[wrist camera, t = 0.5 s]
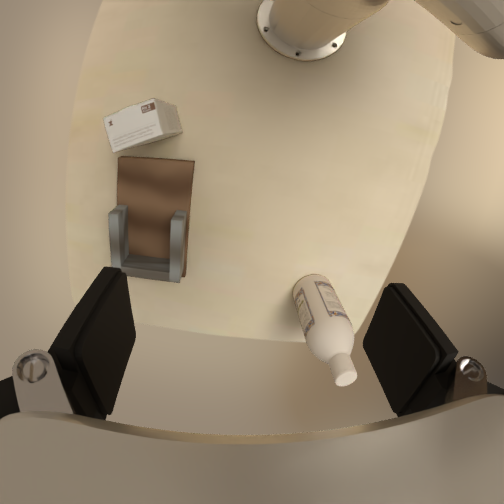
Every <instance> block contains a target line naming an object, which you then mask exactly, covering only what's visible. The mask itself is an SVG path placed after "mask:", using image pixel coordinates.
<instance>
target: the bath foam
mask: <svg viewBox="0 0 504 504" xmlns="http://www.w3.org/2000/svg"><path fill="white" fill-rule="evenodd" d="M293 298H294V302H295V305H296V309H297V312H298V315H299V319H300V322H301V326H302V329H303V332H304V336H305V339H306V343H307V345H308V347H309V349H310V350H311V352H312V353H313V354H314V355H315V356H316V357H317V358H318V359H320V360H321V361H323V362H325V363H327V364H329V366H330V369H331V372H332V375H333V378H334V381H335V384H336V385H338V386H346V385H349V384H351V383H352V382H354V381H355V380H356V378H357V373H356V370H355V368H354V365H353V363H352V361H351V358H350V354H351V351H352V348H353V344H354V332H353V328H352V324H351V322H350V320H349V318H348V316H347V314H346V312H345V310H344V308H343V306H342V304H341V302H340V300H339V298H338V296H337V294H336V293H335V291H334V289H333V287H332V285H331V283H330V282H329V280H328V279H327V278H326V277H324V276H322V275H317V274H313V275H308V276H306V277H304V278H302V279H301V280H300V281H298V283H297V284H296V285H295V287H294V290H293Z"/></svg>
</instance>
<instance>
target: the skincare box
mask: <svg viewBox="0 0 504 504" xmlns="http://www.w3.org/2000/svg"><path fill="white" fill-rule="evenodd" d="M103 120H104V124H105V128H106V131H107V135H108V139H109V142H110V146H111V148H112V152H113V153H115V152H118V151H122V150H125V149H129V148H133V147H136V146H140V145H144V144H148V143H152V142H155V141H158V140H162V139H165V138H168V137H171V136H174V135H177V134H180V133H182V129H181V125H180V121H179V117H178V112H177V108H176V106H175V105H172V104H169V103H166V102H164V101H161V100H158V99H155V98H152V99H149V100H147V101H144V102H141V103H138V104H136V105H132V106H129V107H126V108H124V109H122V110H120V111H118V112H115V113H113V114H111V115H109V116H106V117H104V118H103Z"/></svg>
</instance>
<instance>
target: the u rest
mask: <svg viewBox="0 0 504 504" xmlns="http://www.w3.org/2000/svg"><path fill="white" fill-rule="evenodd" d="M194 164H195V161H189V160H177V159H164V158H149V157H129V156H121V157H119V158H118V180H117V207H116V208H114V209H113V210H112V211H111V212H110V213H109V237H110V251H111V263H112V267H116V268H120V269H121V270H122V272H124V273H126V276H130V277H137V278H145V279H152V280H160V281H168V282H176V283H180V280H181V277H185V275H186V264H187V246H188V231H189V217H190V205H191V194H192V183H193V173H194Z"/></svg>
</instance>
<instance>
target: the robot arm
mask: <svg viewBox="0 0 504 504" xmlns="http://www.w3.org/2000/svg"><path fill="white" fill-rule="evenodd" d="M388 1H389V0H273V1H270V0H263V1H262V3H261V4H260V7H259V9H258V13H257V25H258V29H259V32H260V34H261V35H262V37H263V39H264V40H265V41H266V42H267V44H268V45H269V46H271V47H272V48H273V49H274V50H275V51H277V52H279V53H280V54H282V55H284V56H287V57H289V58H292V59H296V60H303V61H314V60H319V59H323V58H325V57H328V56H330V55H331V54H333V53H335V52H336V51H337V50H338V49H339V48H340V47H341V45H342V44H343V42H344V40H345V37H346V32H347V31H348V30H349V29H351V28H352V27H354V26H355V25H357V24H358V23H360V22H362V21H363V20H365V19H366V18H368V17H370V16H371V15H373V14H374V13H376V12H378V11H379V10H381V9H382V8H383V7H384V6H385V5H386V4H387V3H388ZM414 1H416V2H417V3H418V4H420V5H421V6H422V7H424V8H425V9H426V10H428V11H429V12H430V13H431V14H433V15H434V16H435V17H436V18H437V19H439V20H440V21H441V22H442V23H443V24H444V25H445V26H447V27H448V28H449V29H450V30H451V31H452V32H453V33H454V34H456V35H457V36H458V37H459V38H460V39H461V40H462V41H463V42H465V43H466V44H467V45H468V46H469V47H471V48H472V49H474V50H475V51H477V52H478V53H480V54H482V55H484V56H486V57H491V58H494V59H504V0H414ZM264 30H267V32H264ZM331 45H333V46H334V48H333V47H332V46H331ZM296 53H298V54H299V56H296ZM135 338H136V331H135V326H134V320H133V315H132V309H131V303H130V297H129V290H128V283H127V276H126V273H124V272H122V270H121V269H120V268H116V267H104V268H103V269H102V270H101V272H100V273H99V274H98V276H97V277H96V279H95V280H94V281H93V283H92V284H91V286H90V287H89V289H88V290H87V291H86V293H85V294H84V296H83V297H82V299H81V300H80V302H79V303H78V304H77V305H76V307H75V309H74V310H73V311H72V313H71V315H70V316H69V318H68V319H67V321H66V323H65V324H64V326H63V327H62V329H61V330H60V332H59V334H58V336H57V337H56V338H55V340H54V342H53V344H52V345H51V347H50V349H49V350H48V352H46V351H43V350H38V349H34V350H29V351H27V352H25V353H23V354H22V355H20V356H19V357H18V358H17V360H16V361H15V362H14V365H13V368H12V375H13V376H11V377H9V378H6V379H4V380H1V381H0V504H504V389H502V388H500V387H498V386H496V385H493V384H491V383H489V382H487V374H486V370H485V369H484V367H483V365H482V364H481V363H480V362H479V361H477V360H476V359H474V358H472V357H468V356H463V357H460V358H459V359H458V360H457V362H456V361H455V360H454V358H455V357H456V355H457V353H458V350H457V349H456V348H455V346H454V345H453V344H452V342H451V341H450V340H449V338H448V337H447V336H446V334H445V333H444V332H443V330H442V329H441V328H440V327H439V325H438V324H437V323H436V321H435V320H434V319H433V318H432V316H431V315H430V314H429V313H428V311H427V310H426V309H425V308H424V307H423V305H422V304H421V303H420V302H419V300H418V299H417V298H416V297H415V296H414V294H413V293H412V292H411V291H410V290H409V289H408V287H407V286H406V285H405V284H403V283H390V284H389V285H388V286H387V287H385V288H384V290H383V293H382V296H381V298H380V301H379V304H378V306H377V308H376V311H375V314H374V316H373V318H372V321H371V323H370V326H369V328H368V330H367V333H366V335H365V337H364V340H363V348H364V350H365V352H366V354H367V356H368V358H369V360H370V362H371V365H372V367H373V369H374V371H375V373H376V375H377V377H378V379H379V382H380V384H381V386H382V388H383V390H384V393H385V395H386V397H387V399H388V402H389V404H390V406H391V408H392V410H393V412H394V413H396V414H397V416H398V417H397V418H393V419H388V420H384V421H379V422H374V423H369V424H364V425H358V426H353V427H346V428H339V429H332V430H324V431H315V432H305V433H292V434H274V435H218V434H200V433H187V432H177V431H168V430H161V429H153V428H145V427H139V426H133V425H127V424H121V423H116V422H111V421H106V420H105V419H106V416H107V414H108V415H111V413H112V411H113V408H114V405H115V401H116V398H117V394H118V391H119V388H120V385H121V382H122V378H123V375H124V372H125V369H126V366H127V363H128V360H129V357H130V354H131V351H132V348H133V345H134V342H135Z"/></svg>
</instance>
